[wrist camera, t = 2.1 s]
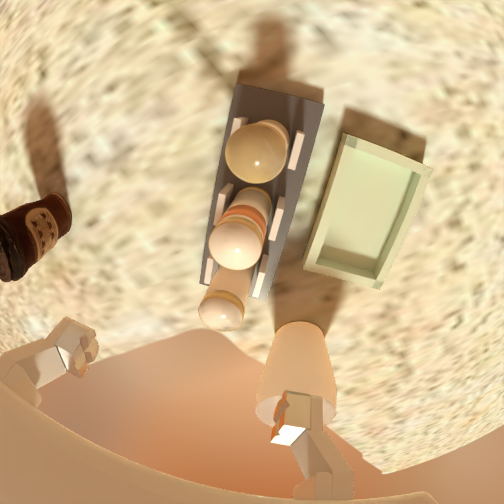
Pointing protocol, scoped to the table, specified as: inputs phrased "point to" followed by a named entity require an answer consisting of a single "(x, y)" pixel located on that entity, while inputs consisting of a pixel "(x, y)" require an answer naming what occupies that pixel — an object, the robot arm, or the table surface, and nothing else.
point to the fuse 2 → (257, 151)
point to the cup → (296, 370)
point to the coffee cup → (31, 234)
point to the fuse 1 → (226, 298)
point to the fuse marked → (242, 229)
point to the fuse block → (279, 188)
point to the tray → (365, 212)
